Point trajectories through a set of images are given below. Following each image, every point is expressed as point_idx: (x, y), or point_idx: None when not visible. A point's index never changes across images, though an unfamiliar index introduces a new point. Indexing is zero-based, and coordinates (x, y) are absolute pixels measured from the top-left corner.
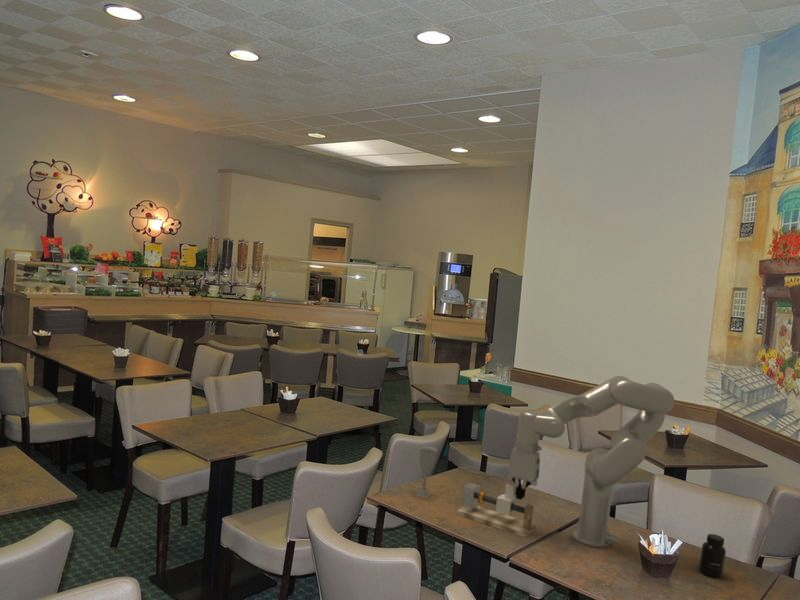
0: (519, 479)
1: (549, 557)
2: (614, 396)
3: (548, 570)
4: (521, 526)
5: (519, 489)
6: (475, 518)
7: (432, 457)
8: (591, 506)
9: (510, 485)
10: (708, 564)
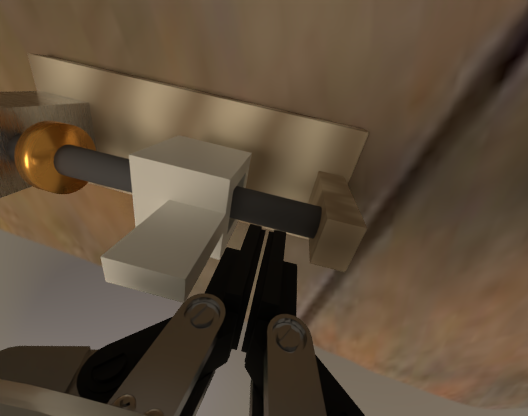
0: (173, 388)
1: (397, 319)
2: None
3: (385, 366)
4: (303, 193)
5: (240, 334)
6: None
7: None
8: None
9: (133, 265)
10: None
